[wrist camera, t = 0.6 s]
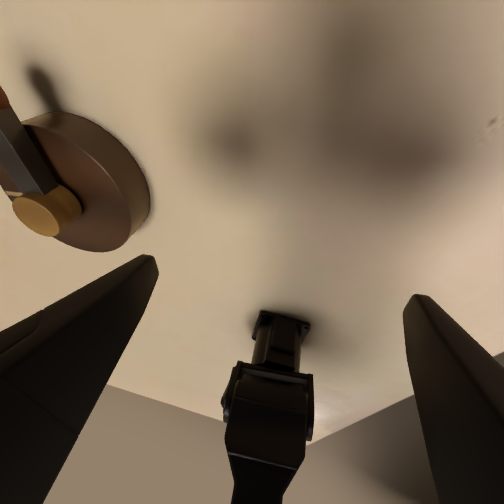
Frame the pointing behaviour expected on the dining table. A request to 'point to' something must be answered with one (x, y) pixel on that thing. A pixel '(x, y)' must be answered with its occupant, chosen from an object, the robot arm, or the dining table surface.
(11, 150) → the crank handle
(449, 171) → the dining table surface
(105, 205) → the crank base
